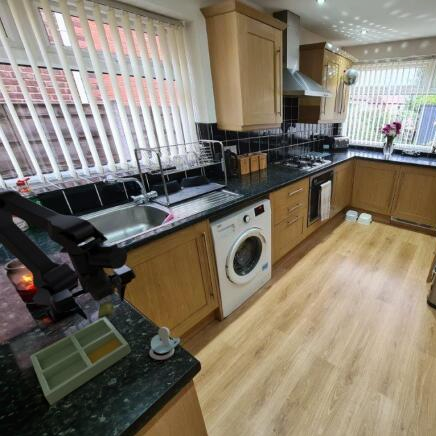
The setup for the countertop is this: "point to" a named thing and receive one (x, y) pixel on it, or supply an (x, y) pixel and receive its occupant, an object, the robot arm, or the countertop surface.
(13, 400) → the countertop surface
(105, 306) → the lime
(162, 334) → the pacifier
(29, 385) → the countertop surface
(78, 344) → the green divided tray
